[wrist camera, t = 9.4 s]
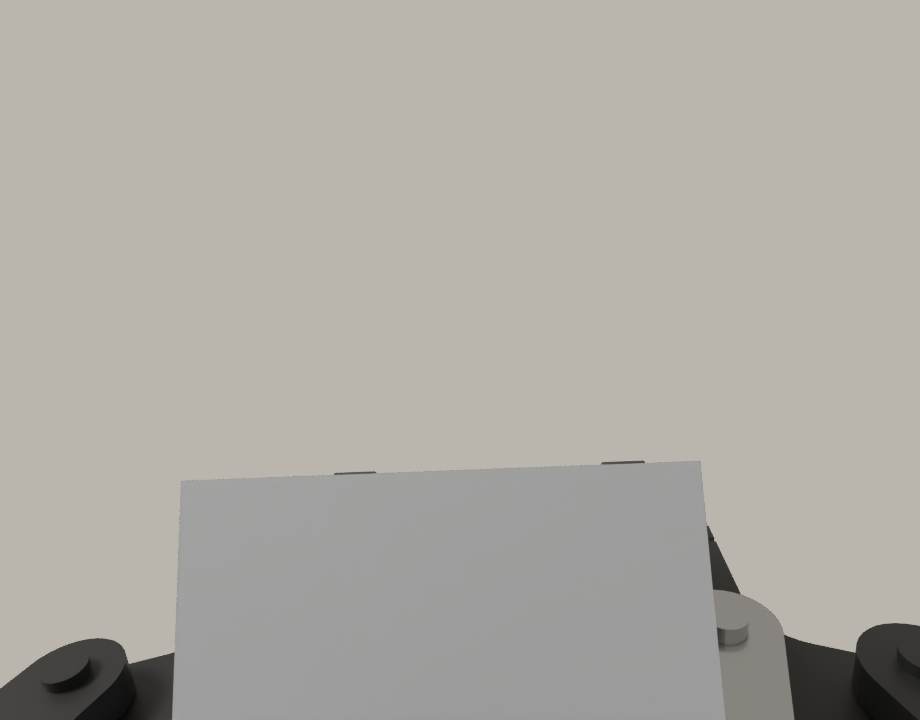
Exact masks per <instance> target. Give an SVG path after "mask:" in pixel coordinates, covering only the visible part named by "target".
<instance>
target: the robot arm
mask: <svg viewBox="0 0 920 720" xmlns="http://www.w3.org/2000/svg"><path fill="white" fill-rule="evenodd" d="M633 463H645V462H644V461H624V462H602V463H601V465H607V464H633ZM372 473H376V472H351V473H350V472H349V473H335V474H334V475H346V474H372ZM706 524H707V523H706ZM707 534H708V544H709V554H710V565H711V575H712V585H713V595H714V606H715V616H716V626H717V636H718V647H719V657H720V667H721V678H722V688H723V698H724V708H725V719H726V720H920V626H917V625H910V624H899V623H892V624H882V625H877V626H874V627H872V628H870V629H868V630H867V631H865V632H863V634H862V635H861V636H860V637H859V639H858V641H857V645H856V653H854V652H849V651H844V650H839V649H834V648H829V647H825V646H820V645H815V644H811V643H806V642H803V641H799V640H796V639H794V638H791V637H788V636H786V635H784V633H783V629H782V626H781V624H780V622H779V621H778V619H777V618H776V617H775V615H774V614H773V613H772V612H771V611H769V610H768V609H767V608H766V607H764V606H763V605H762V604H760V603H758V602H757V601H755V600H753V599H751V598H748V597H746V596H744V595H741V594H740V592H739V589H738V587H737V585H736V583H735V581H734V579H733V577H732V575H731V573H730V571H729V568H728V566H727V564H726V562H725V560H724V558H723V556H722V554H721V552H720V549H719V547H718V545H717V543H716V542H714V537H713V535H712V533H711V531H710V529H709V526H707ZM174 655H175V653H171V654H167V655H163V656H159V657H155V658H151V659H148V660H143V661H140V662H136V663H132V664H129V663H128V660H127V657H126V653H125V650H124V649H123V647H122V646H121V645H120V644H119V643H117V642H115V641H113V640H109V639H99V638H96V639H87V640H82V641H78V642H74V643H71V644H68V645H65V646H63V647H60V648H58V649H56V650H55V651H52V652H50V653H48V654H47V655H45V656H43V657H41V658H40V659H38V660H37V661H36V662H34V663H33V664H31V665H30V666H29V667H28V668H26V669H25V670H24V671H23V672H21V673H20V674H19V675H18V676H16V677H15V678H14V679H12V680H11V681H10V682H8V683H7V684H6V685H5V686H3V687H2V688H1V689H0V720H172V709H173V682H174Z"/></svg>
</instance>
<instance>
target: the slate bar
mask: <svg viewBox="0 0 920 720" xmlns="http://www.w3.org/2000/svg"><path fill="white" fill-rule="evenodd" d="M177 577H178V578H177V602H176V629H175V655H174V682H173V709H172V720H726V719H725V708H724V698H723V688H722V678H721V667H720V657H719V647H718V636H717V626H716V616H715V606H714V595H713V585H712V575H711V565H710V554H709V544H708V534H707V524H706V514H705V504H704V493H703V483H702V472H701V462H700V461H689V462H688V461H687V462H662V463H661V462H659V463H633V464H607V465H584V466H583V465H581V466H558V467H557V466H556V467H531V468H503V469H478V470H452V471H451V470H450V471H424V472H398V473H372V474H346V475H321V476H320V475H319V476H294V477H267V478H244V479H215V480H192V481H191V480H189V481H181V495H180V522H179V548H178V575H177Z"/></svg>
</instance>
